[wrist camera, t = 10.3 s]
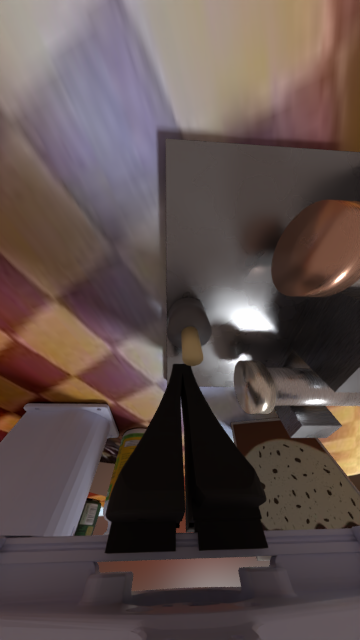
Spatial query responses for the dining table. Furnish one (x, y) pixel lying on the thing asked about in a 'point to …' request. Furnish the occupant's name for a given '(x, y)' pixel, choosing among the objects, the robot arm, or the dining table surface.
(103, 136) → the dining table surface
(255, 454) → the food container
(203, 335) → the potentiometer
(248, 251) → the mount
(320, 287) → the copper-capped metal rod
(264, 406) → the silver long cylinder
